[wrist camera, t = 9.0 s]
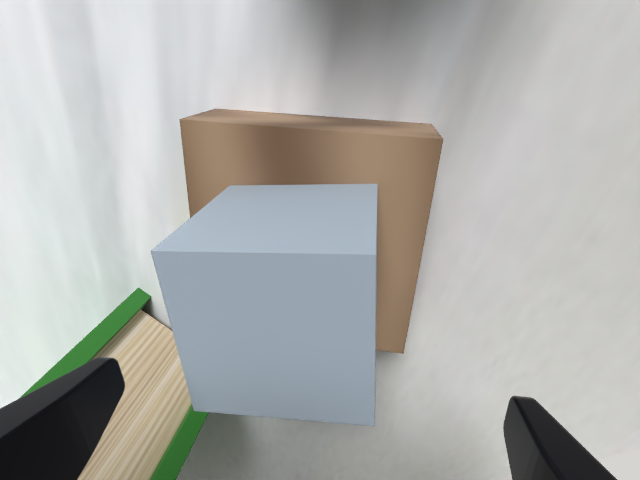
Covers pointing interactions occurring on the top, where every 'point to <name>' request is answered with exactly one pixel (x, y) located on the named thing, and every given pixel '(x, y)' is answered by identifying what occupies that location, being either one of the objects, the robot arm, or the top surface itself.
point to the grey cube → (277, 301)
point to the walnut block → (329, 181)
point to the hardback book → (138, 397)
